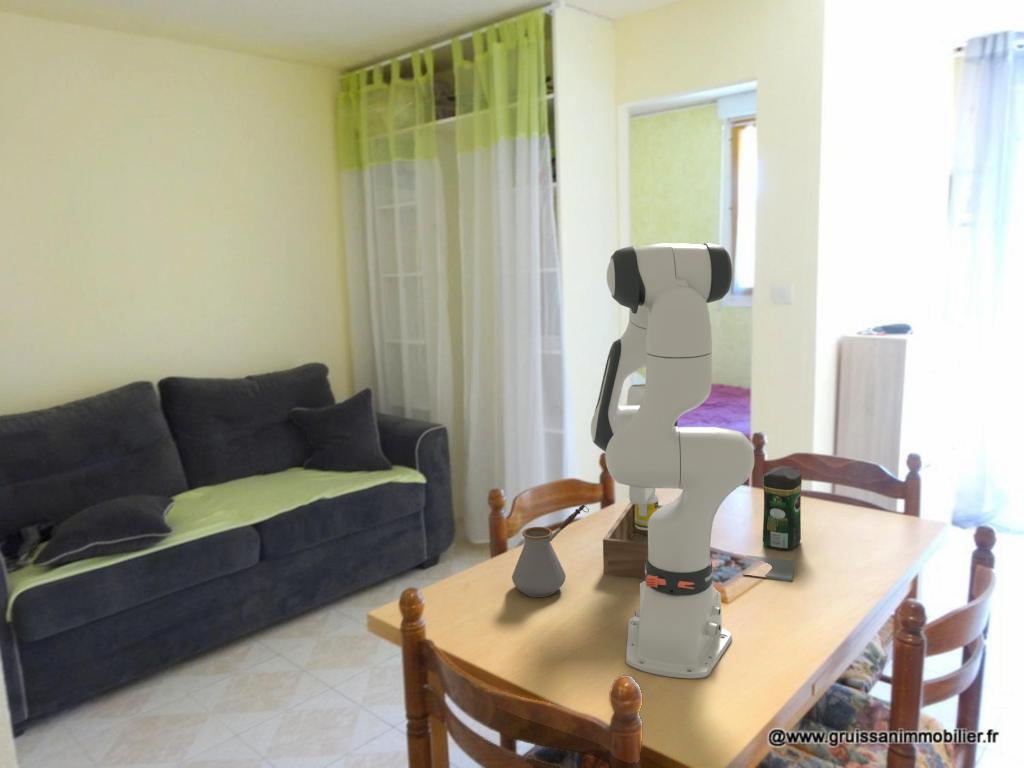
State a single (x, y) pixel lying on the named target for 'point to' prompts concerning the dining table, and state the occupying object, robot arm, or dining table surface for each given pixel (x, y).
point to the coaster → (777, 568)
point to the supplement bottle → (652, 505)
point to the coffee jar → (782, 508)
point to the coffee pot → (540, 561)
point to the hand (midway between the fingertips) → (646, 510)
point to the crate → (625, 547)
